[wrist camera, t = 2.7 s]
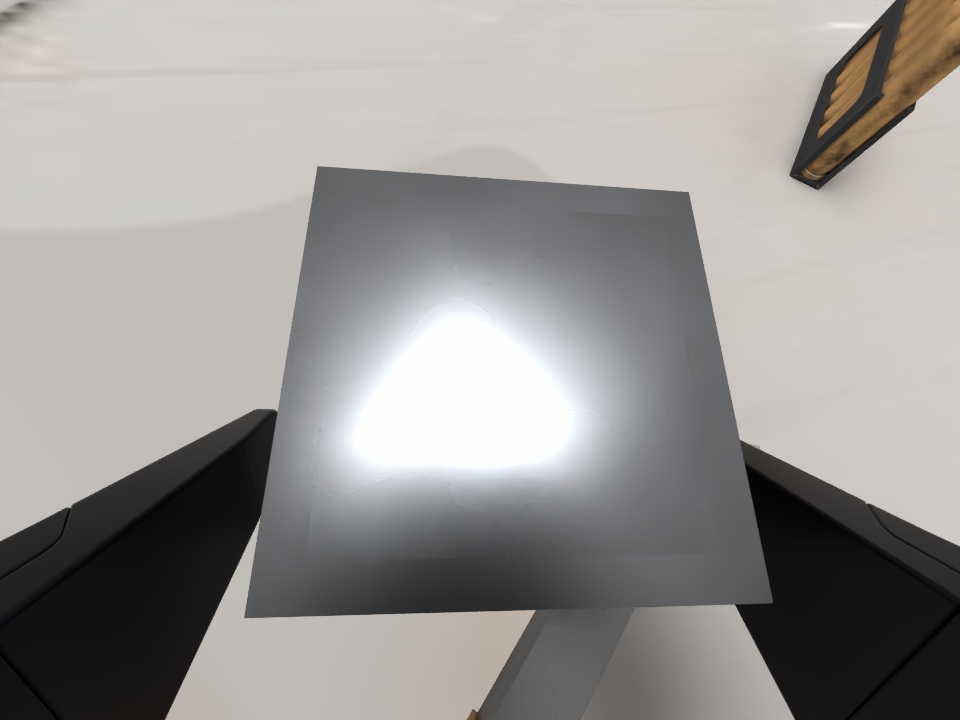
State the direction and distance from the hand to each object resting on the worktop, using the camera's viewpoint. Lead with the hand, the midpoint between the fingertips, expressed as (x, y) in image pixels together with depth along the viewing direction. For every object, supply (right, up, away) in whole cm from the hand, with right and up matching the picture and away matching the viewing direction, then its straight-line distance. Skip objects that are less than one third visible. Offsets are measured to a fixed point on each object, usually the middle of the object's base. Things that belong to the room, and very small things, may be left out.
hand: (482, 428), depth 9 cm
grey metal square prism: (-1, -2, +8) cm, 8 cm away
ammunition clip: (+22, +16, +17) cm, 32 cm away
